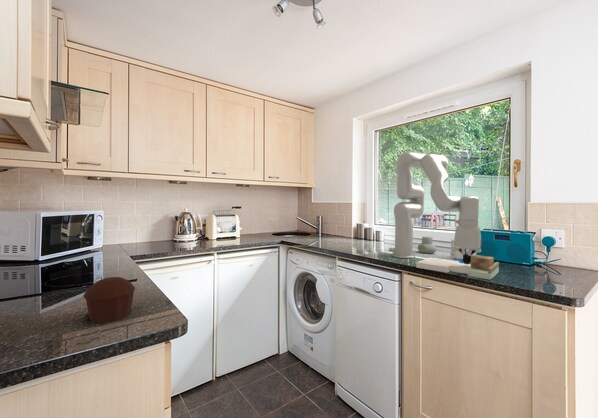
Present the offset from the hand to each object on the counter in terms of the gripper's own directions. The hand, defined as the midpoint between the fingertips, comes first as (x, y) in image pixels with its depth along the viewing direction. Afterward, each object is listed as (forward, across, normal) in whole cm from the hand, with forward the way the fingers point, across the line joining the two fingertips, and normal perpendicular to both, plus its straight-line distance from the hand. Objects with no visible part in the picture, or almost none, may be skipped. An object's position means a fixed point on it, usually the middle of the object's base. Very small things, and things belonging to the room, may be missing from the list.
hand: (466, 263), depth 128 cm
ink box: (+4, -7, +21) cm, 23 cm away
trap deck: (+4, -4, 0) cm, 6 cm away
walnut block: (+1, +6, 0) cm, 6 cm away
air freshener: (+4, -30, +36) cm, 48 cm away
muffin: (+4, -54, -127) cm, 138 cm away
